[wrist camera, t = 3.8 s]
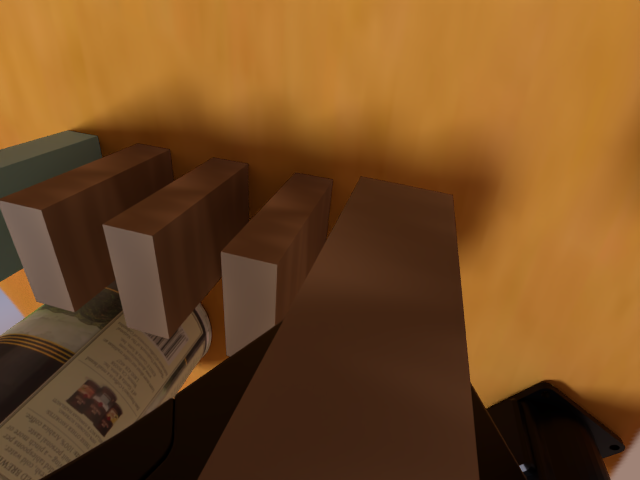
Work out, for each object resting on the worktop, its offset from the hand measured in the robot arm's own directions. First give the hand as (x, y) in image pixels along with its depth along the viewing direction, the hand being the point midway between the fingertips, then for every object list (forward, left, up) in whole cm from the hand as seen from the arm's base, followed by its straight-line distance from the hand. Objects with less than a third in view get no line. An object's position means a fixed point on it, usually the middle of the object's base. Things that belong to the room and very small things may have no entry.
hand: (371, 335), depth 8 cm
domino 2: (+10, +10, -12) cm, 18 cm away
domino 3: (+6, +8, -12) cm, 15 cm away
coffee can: (+6, +21, -12) cm, 25 cm away
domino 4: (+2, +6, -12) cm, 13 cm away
